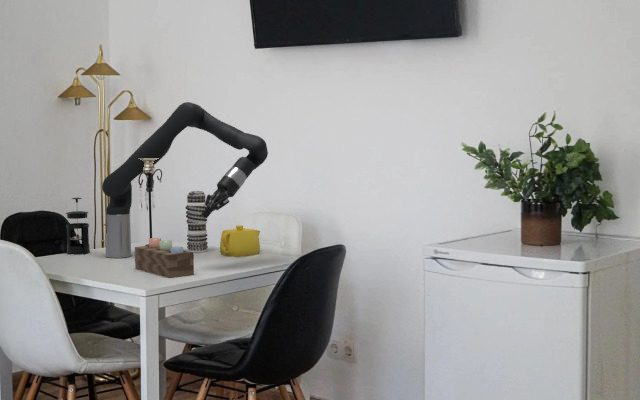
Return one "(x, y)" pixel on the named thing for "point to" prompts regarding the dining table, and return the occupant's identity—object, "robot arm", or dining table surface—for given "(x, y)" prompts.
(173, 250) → the blue button
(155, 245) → the terracotta button
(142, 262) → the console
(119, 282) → the dining table surface
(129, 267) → the dining table surface
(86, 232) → the french press
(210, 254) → the dining table surface
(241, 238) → the teapot
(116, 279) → the dining table surface
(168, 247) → the sage button
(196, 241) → the decorative candle
